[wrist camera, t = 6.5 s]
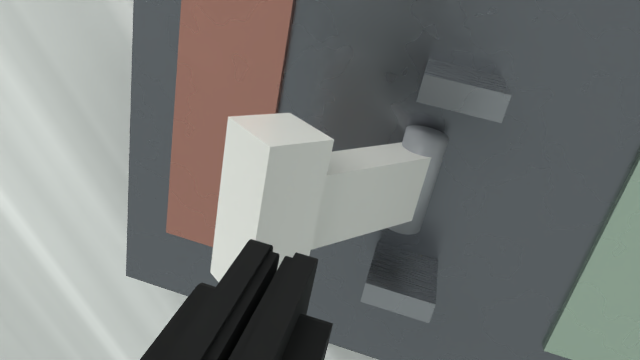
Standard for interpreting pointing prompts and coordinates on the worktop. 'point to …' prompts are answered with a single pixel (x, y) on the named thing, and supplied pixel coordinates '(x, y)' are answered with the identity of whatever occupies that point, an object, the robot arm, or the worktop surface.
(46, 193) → the worktop surface
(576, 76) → the breaker panel
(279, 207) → the toggle lever
